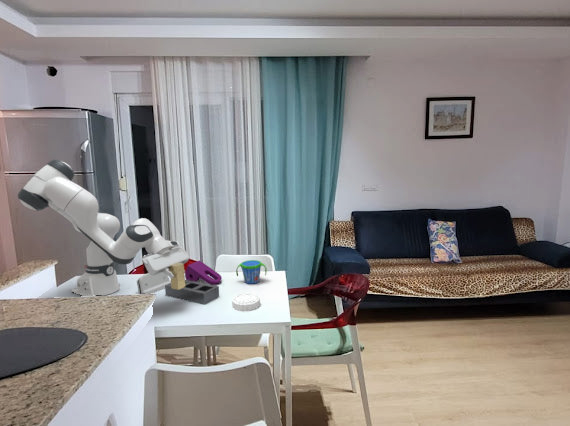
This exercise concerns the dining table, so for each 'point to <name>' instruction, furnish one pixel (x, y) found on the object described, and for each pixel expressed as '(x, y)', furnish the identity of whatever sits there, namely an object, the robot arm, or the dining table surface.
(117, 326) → the dining table surface
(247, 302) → the mooncake
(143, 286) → the hinge
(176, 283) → the brass peg
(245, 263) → the snack cup
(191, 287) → the grey rectangular block
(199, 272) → the mounting bracket
